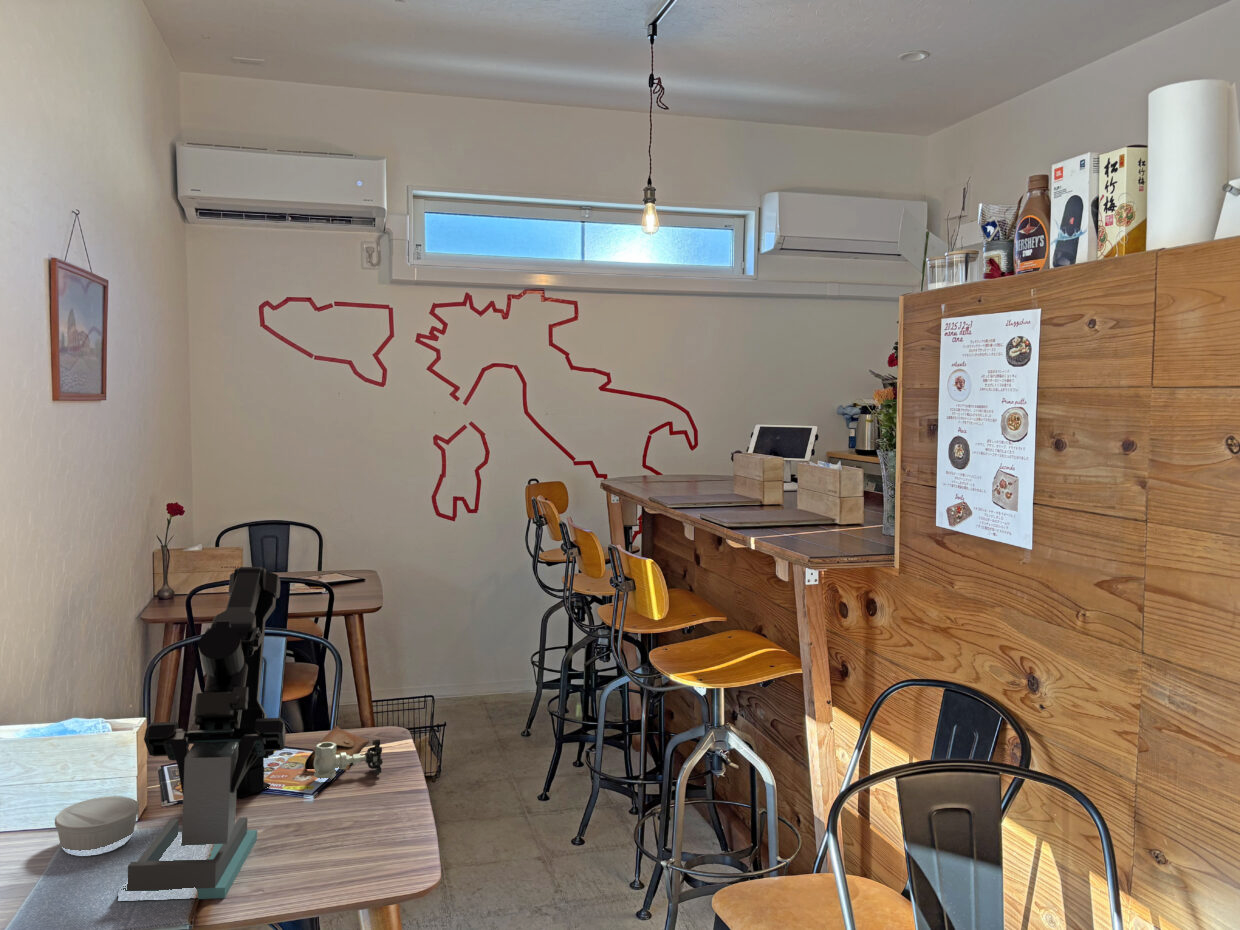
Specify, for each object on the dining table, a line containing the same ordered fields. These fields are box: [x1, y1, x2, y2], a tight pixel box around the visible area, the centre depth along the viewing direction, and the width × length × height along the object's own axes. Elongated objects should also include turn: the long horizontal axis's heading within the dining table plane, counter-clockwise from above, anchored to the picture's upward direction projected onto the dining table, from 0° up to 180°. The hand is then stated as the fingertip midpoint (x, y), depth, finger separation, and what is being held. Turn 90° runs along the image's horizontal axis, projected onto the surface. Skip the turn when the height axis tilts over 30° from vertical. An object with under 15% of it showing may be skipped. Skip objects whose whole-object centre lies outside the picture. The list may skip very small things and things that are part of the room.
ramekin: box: [54, 795, 140, 851], centre depth 139 cm, size 11×11×5 cm
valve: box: [313, 739, 383, 780], centre depth 169 cm, size 7×7×12 cm
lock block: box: [181, 741, 239, 846], centre depth 129 cm, size 6×6×12 cm
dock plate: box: [117, 816, 258, 900], centre depth 133 cm, size 18×14×5 cm
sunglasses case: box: [304, 725, 370, 771], centre depth 179 cm, size 18×7×7 cm, turn 3°
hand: (208, 793), depth 127 cm, fingers closed on lock block, 6 cm apart
